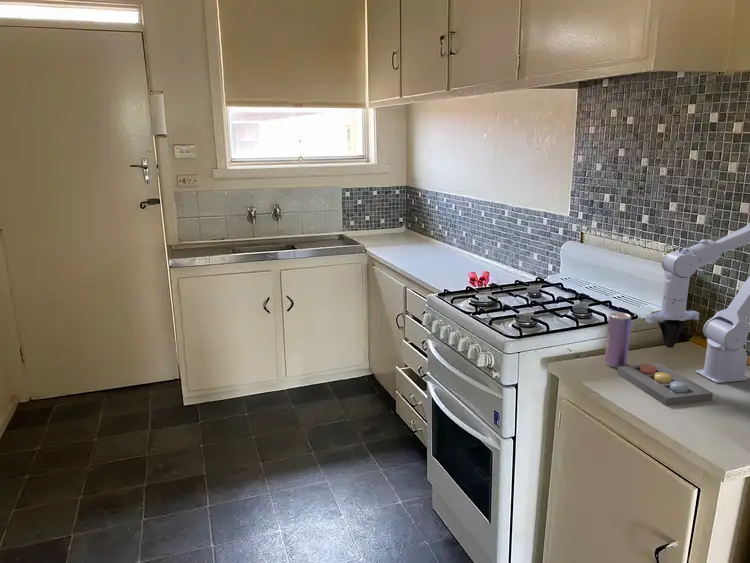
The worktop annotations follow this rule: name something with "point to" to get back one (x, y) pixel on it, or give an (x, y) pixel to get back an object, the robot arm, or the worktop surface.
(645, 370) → the brick button
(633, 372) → the panel
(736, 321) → the robot arm
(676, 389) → the slate button
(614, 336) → the beverage can
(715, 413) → the worktop surface
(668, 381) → the ochre button
